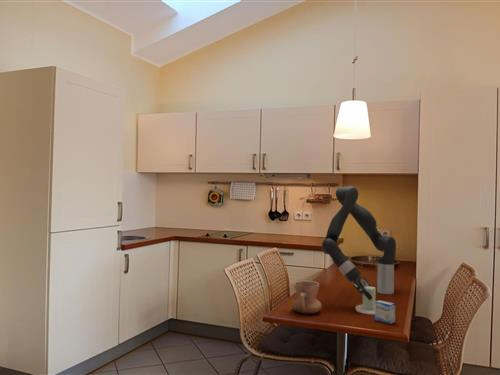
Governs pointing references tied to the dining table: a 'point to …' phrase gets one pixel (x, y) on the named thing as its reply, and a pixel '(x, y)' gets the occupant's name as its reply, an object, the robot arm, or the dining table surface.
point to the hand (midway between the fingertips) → (372, 297)
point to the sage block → (366, 301)
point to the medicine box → (385, 311)
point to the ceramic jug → (306, 297)
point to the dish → (365, 309)
